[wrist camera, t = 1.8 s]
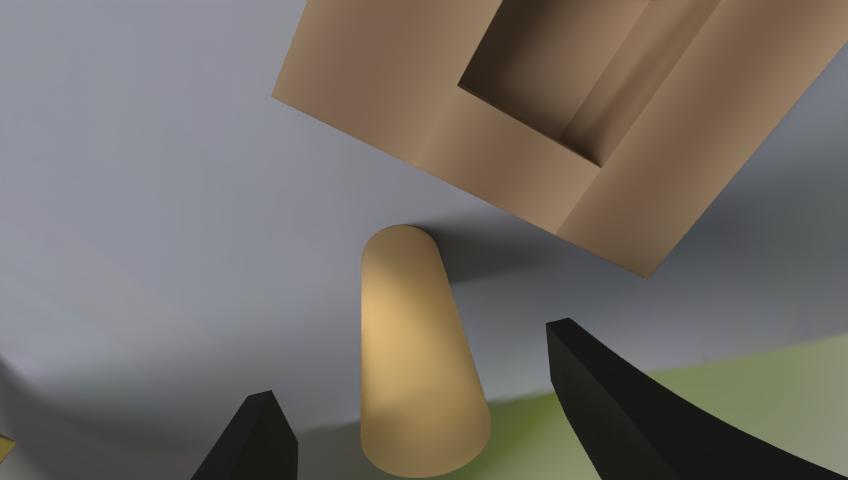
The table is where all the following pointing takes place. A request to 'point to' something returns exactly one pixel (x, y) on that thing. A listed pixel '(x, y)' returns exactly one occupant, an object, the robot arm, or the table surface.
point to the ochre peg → (415, 362)
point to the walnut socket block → (567, 100)
